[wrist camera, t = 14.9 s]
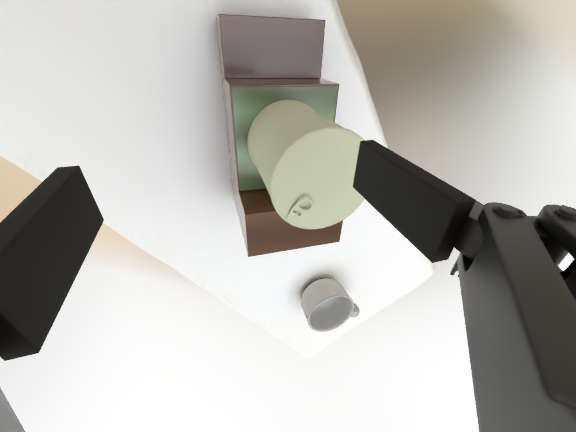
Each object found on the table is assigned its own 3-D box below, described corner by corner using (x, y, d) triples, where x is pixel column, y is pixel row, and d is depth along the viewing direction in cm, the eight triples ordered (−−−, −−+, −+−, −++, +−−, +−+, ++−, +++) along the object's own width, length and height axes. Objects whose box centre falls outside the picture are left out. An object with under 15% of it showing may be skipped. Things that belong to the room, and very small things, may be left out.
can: (230, 146, 29) (245, 197, 20) (286, 79, 27) (335, 99, 18) (286, 191, 34) (320, 248, 25) (337, 137, 32) (396, 177, 23)
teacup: (288, 298, 62) (298, 327, 56) (315, 265, 59) (330, 293, 52) (329, 309, 69) (343, 336, 63) (356, 280, 66) (373, 306, 59)
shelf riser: (216, 17, 31) (228, 0, 19) (311, 22, 34) (377, 10, 22) (233, 196, 44) (248, 257, 32) (301, 189, 47) (339, 241, 35)
